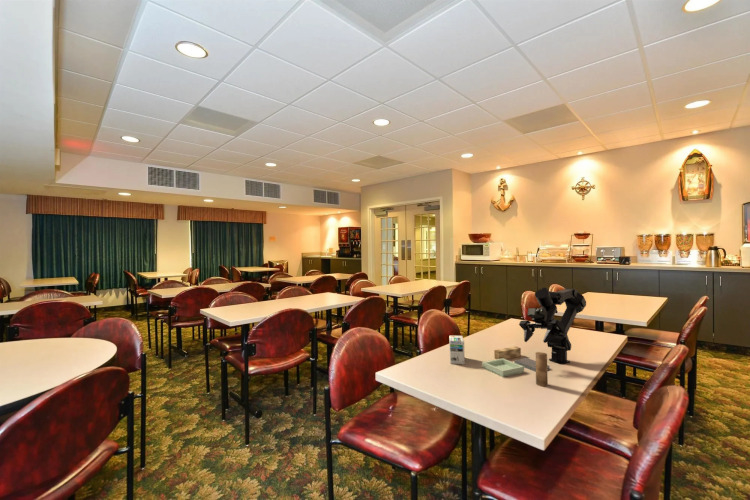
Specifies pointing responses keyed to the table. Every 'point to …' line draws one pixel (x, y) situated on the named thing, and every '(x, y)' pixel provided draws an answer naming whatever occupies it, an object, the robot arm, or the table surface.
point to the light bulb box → (456, 349)
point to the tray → (503, 367)
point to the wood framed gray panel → (528, 363)
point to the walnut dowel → (541, 369)
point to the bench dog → (507, 353)
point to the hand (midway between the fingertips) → (534, 341)
